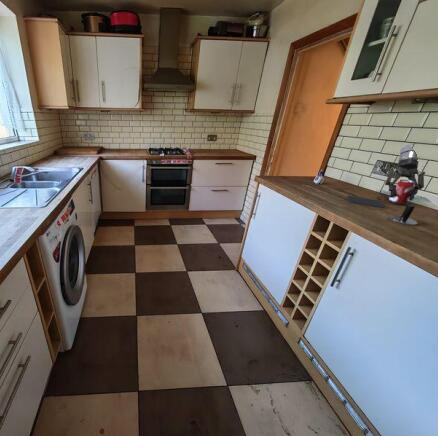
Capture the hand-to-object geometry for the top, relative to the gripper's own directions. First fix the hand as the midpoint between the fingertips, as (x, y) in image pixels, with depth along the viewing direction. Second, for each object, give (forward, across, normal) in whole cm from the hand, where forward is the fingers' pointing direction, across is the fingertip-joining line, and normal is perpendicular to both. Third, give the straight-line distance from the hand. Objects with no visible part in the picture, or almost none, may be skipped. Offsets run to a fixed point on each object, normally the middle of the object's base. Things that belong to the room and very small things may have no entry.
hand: (401, 197), depth 120 cm
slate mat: (+6, +14, 0) cm, 16 cm away
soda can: (0, 0, -5) cm, 5 cm away
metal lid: (+22, +3, +15) cm, 27 cm away
